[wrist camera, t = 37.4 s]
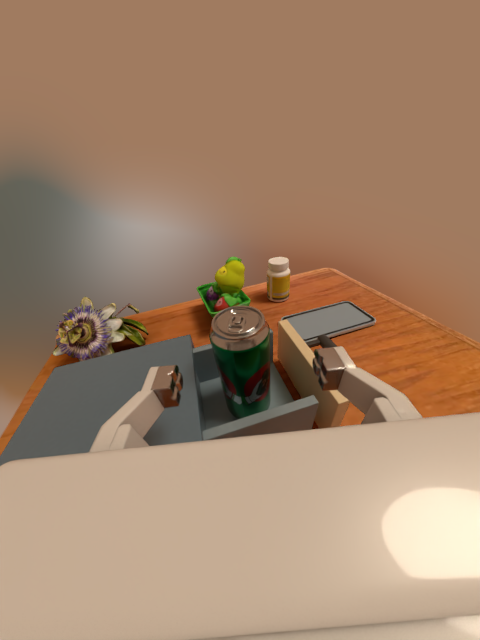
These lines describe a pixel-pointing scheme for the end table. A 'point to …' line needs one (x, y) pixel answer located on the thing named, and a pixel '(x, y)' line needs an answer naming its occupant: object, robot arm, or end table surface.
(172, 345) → the cabinet
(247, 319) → the soda can
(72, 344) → the passion flower
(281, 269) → the supplement bottle
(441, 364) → the end table surface
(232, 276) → the fruit basket
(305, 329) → the smartphone
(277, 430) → the drawer
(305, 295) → the end table surface
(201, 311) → the end table surface
